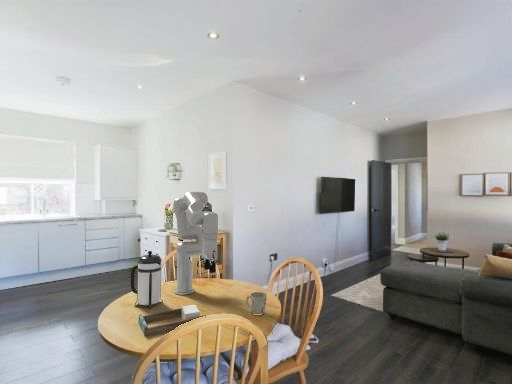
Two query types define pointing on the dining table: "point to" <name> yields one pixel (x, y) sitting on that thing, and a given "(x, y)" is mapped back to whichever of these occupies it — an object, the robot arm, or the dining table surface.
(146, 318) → the bay
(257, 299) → the mug
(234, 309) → the dining table surface
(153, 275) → the coffee press
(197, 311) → the silver block
